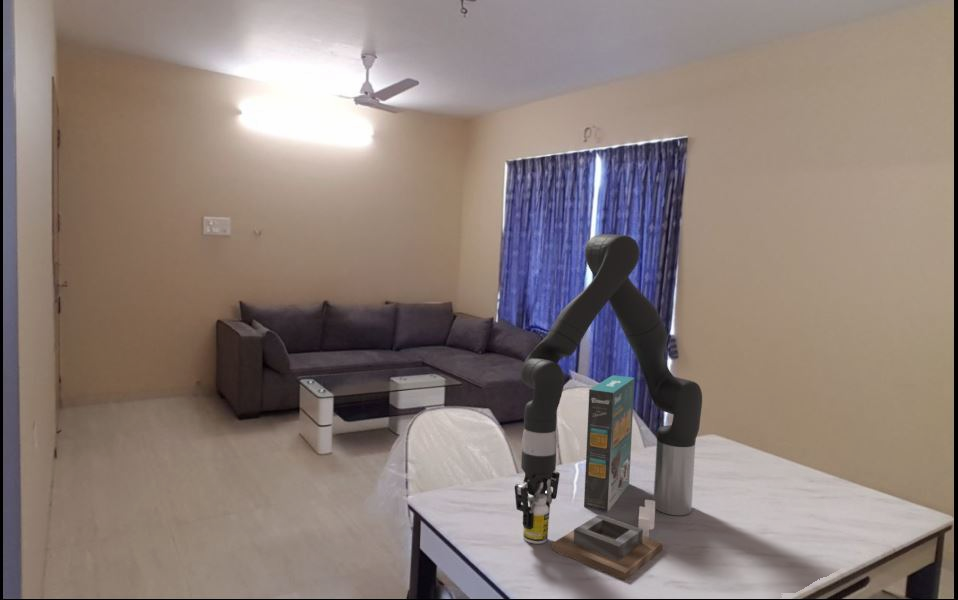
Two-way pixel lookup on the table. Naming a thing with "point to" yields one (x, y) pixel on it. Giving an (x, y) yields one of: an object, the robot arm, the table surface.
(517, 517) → the table surface
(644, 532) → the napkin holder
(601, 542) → the wooden board with frame
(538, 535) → the supplement bottle
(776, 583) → the table surface
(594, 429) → the cake mix box
